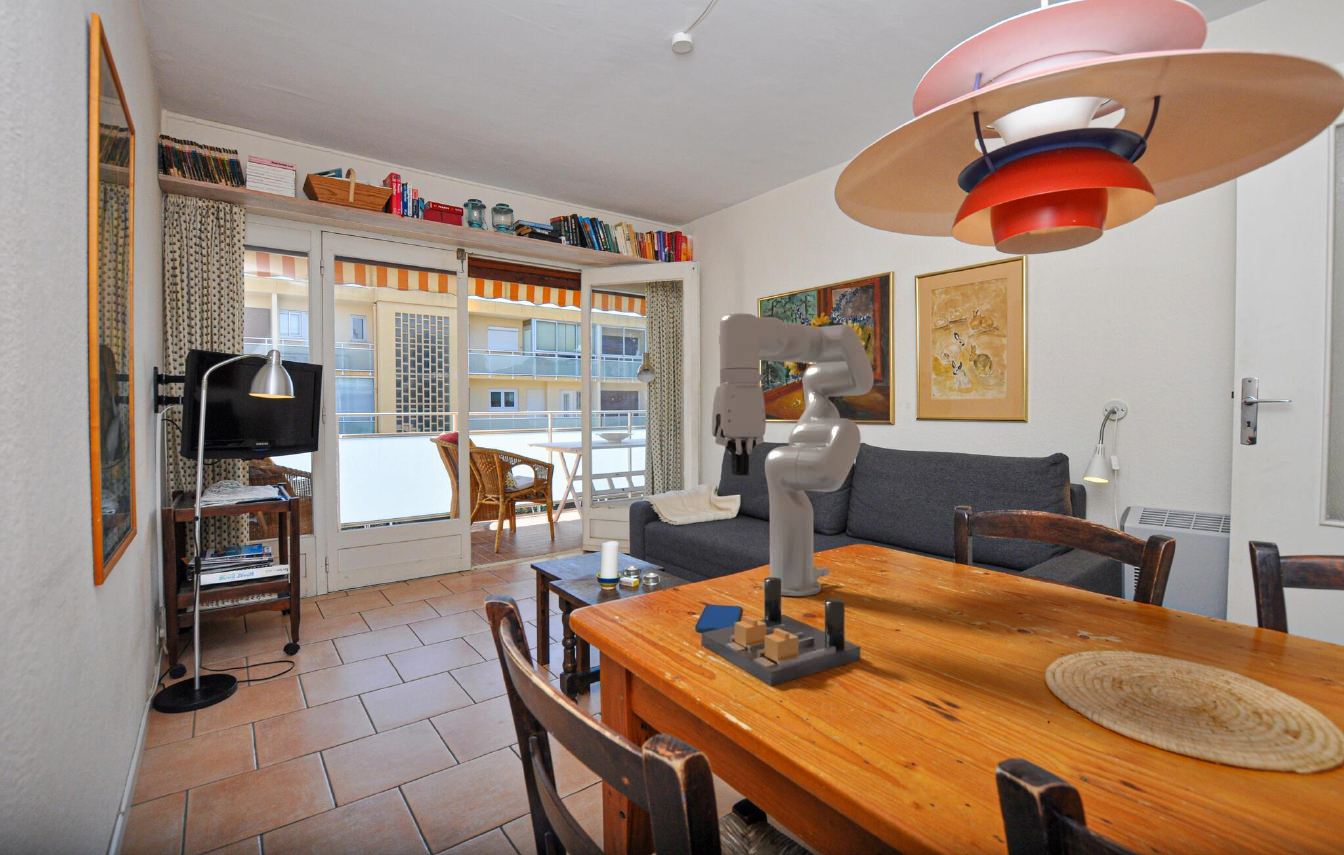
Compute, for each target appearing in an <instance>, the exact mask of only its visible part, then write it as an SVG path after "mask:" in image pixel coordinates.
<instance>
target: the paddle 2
mask: <svg viewBox="0 0 1344 855" xmlns="http://www.w3.org/2000/svg"><path fill="white" fill-rule="evenodd" d="M797 655H798V637H797V636H795V635H793V634H791V633H789V632H786V631H783V630H781V629H779V628H776V629H774V634H770V635H766V636H765V656H766V657H768V658H770V659H772V660H774V661H776V662H777V661H779V660H783V659H786V658H790V657H794V656H797Z"/></svg>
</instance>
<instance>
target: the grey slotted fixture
mask: <svg viewBox="0 0 1344 855" xmlns="http://www.w3.org/2000/svg"><path fill="white" fill-rule="evenodd" d="M763 582H764V588H763V589H764V591H763V592H764V594H763V596H764V606H763V607H764V612H763V613H764V618H762V619H758V620H759V621H761V622H764V623H766V635H770V634H774V629H776V628H779V629H781V630H783V631H786V632H789V633H791V634H793V635H795V636H797V637H798V655H797V656H794V657H790V658H786V659H783V660H779V661H777V662H776V661H774V660H772V659H770V658H768V657H766V656H765V641H763V642H759V643H755V644H751V645H747V647H744V646H742V645H741V644H739V643H737V642H735V626H731V627H727V628H722V629H718V630H713V631H709V632H705V633H704V632H701V646H703V647H704V648H706V649H707V650H709V651H711V652H713V653H715V654H716V655H717V656H720V657H721V658H723V659H725V660H726V661H728V662H730V663H731V664H733V665H735V666H736V667H738V668H740V669H741V670H743V671H745V672H746V673H748V674H750V675H752V676H753V677H755V678H757V679H758V680H760V681H761V682H764V683H765V684H767V685H768V686H770V687H774V686H777V685H780V684H783V683H785V682H786V683H787V682H790V681H794V680H797V679H801V678H803V677H807V676H809V675H813V674H816V673H819V672H822V671H826V670H830V669H834V668H837V667H840V666H843V665H846V664H850V663H853V662H856V661H860V660H861V646H860V645H858V644H854V643H853V642H850V641H848V640H845V636H846V634H845V630H846V628H845V627H846V626H845V616H846V615H845V609H846V608H845V607H846V606H845V600H843V599H840V598H827V599H825V600H824V630H821V629H820V628H816V627H814V626H812V625H811V624H810V625H809V624H807V623H805V622H802V621H801V620H799V619H795V618H793V617H790V616H788V615H786V614H782V595H781V579H780V578H775V577H770V576H769V577H765V578H764V579H763Z"/></svg>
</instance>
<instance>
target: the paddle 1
mask: <svg viewBox="0 0 1344 855" xmlns="http://www.w3.org/2000/svg"><path fill="white" fill-rule="evenodd" d="M742 618H743V619H742V620H741V621H740V620H739V622H736V623H735V642H737V643H739V644H741V645H742V646H744V647H747V645H751V644H755V643H759V642H763V641H765V636H766V623H764V622H761V621H759V620H760V619H757V618H755V617H751V616H749V615H743V617H742Z"/></svg>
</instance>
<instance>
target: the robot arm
mask: <svg viewBox="0 0 1344 855" xmlns="http://www.w3.org/2000/svg"><path fill="white" fill-rule="evenodd" d="M718 344H719V384H720V385H719V386H715V387H716V388H715V391H714V396H713V403H712V412H711V413H712V414H711V415H712V416H711V434H712V436H713V437H715V444H716V445H718V446H719V445H720V446H723V447H725V448H726V449H727V450H728V454H730V455H731V459H730V460H731V474H732V475H733V476H740V477H741V476H742V477H743V476H749V474H750V473H749V469H750V464H749V463H750V455H751V454H752V452H753V449H754V448H755V447H756V446H757V445H761V444H764V441H765V440H764V436H765V434H766V429H767V428H766V427H767V426H766V424H767V423H766V422H767V421H766V405H765V398H764V397H765V396H764V393H763V387H762V386H760V382H762V381H763V378H764V375H763V374H761V373H760V361H769V362H780V363H781V362H790V363H791V362H793V363H801V364H802V363H803V364H804V363H805V364H811V365H810V366H809V367H808V368H807V369H805V371H804V373H803V377H802V389H803V399H804V407H805V409H804V411H803V413H802V414H801V416H800V417H799V419H798V420H797V422H796V424H795V425H794V427H793V428H792V430H791V431H790V434H789V436H788V445H782V446H778V447H775V448H773V449H771V450H770V451H769V452H768V453H767V455H766V457H765V461H764V471H765V472H764V473H765V479H766V483H767V489H768V500H769V503H768V504H769V577H775V578H780V579H781V596H784V597H786V596H787V597H807V596H812V595H813V596H814V595H816V594H818V593H819V592H821V590H822V584H821V583H820V582H819V581H818V579H819V578H820V577H821V578H822V577H827V576H828V575H830V570H829V568H828V567H827V566H824V567H819V568H818V567H817V566H814V564H815V561H814V507H813V506H812V503H811V501H810V498H809V497H808V496H807V493H806V492H805V491H809V492H810V491H811V492H822V493H823V492H824V493H827V492H829V493H830V492H835V491H838V490H839V489H840V488H841V487H842V486H843V485H844V482H845V481H846V479H847V477H848V475H849V473H850V471H851V469H852V467H853V465H854V463H855V461H856V459H857V456H858V455H859V452H860V448H861V440H862V438H861V431H860V429H859V427H858V426H859V425H857V423H856V422H855V421H853V420H851V419H850V418H843V417H840V412H839V410H838V408H837V407H836V406H835V404H834V403H833V402H832V401H831V400H830V399H829V397H853V396H854V397H855V396H858V397H859V396H862V395H866V394H868V393H869V392H870V391H871V390H872V388H873V385H874V381H875V380H874V378H875V377H874V371H873V367H872V364H871V362H870V359H869V357H868V354H867V352H866V349H865V346H864V345H863V342H862V340H861V339H860V336H859V335H858V333H857V331H856V330H855V329H854V328H853V327H852V326H851V325H849V324H837V325H835V324H834V325H827V326H813V325H807V324H801V323H798V322H797V323H796V322H784V321H783V320H781V319H779V318H777V317H772V316H769V317H766V316H765V317H760V316H759V317H758V316H756V315H755V314H751V313H741V312H740V313H729V314H726V315H724V316H723V317H722V318H721V319H720V321H719V335H718ZM762 587H763V589H764V581H763V582H762Z"/></svg>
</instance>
